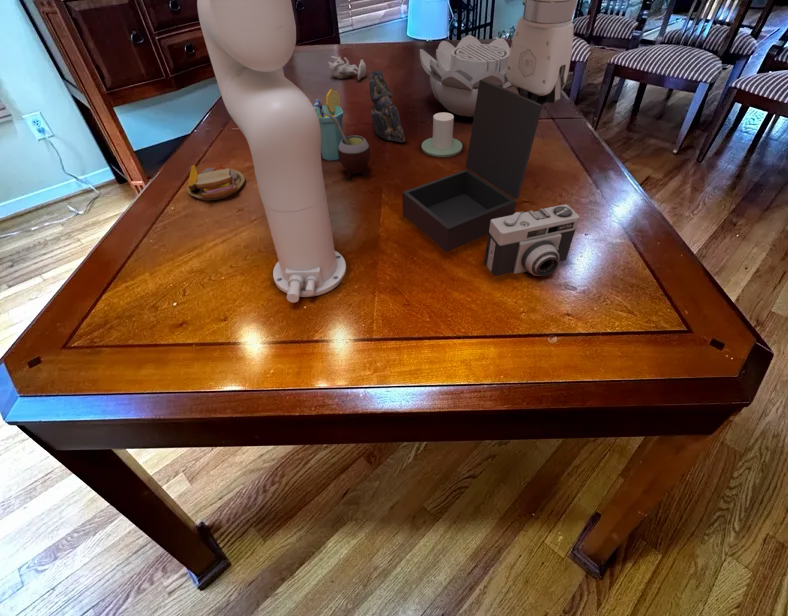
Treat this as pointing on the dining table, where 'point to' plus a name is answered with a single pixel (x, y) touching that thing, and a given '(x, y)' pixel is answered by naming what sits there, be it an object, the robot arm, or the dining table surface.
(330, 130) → the cup
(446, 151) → the saucer
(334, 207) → the dining table surface
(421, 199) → the hinged lid box
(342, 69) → the figurine
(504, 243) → the camera
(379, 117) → the statue
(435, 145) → the white cylinder
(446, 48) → the decorative bowl
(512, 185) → the box lid
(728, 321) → the dining table surface
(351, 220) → the dining table surface
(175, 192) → the dining table surface
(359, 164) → the mate gourd
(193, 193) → the toy sandwich meal
